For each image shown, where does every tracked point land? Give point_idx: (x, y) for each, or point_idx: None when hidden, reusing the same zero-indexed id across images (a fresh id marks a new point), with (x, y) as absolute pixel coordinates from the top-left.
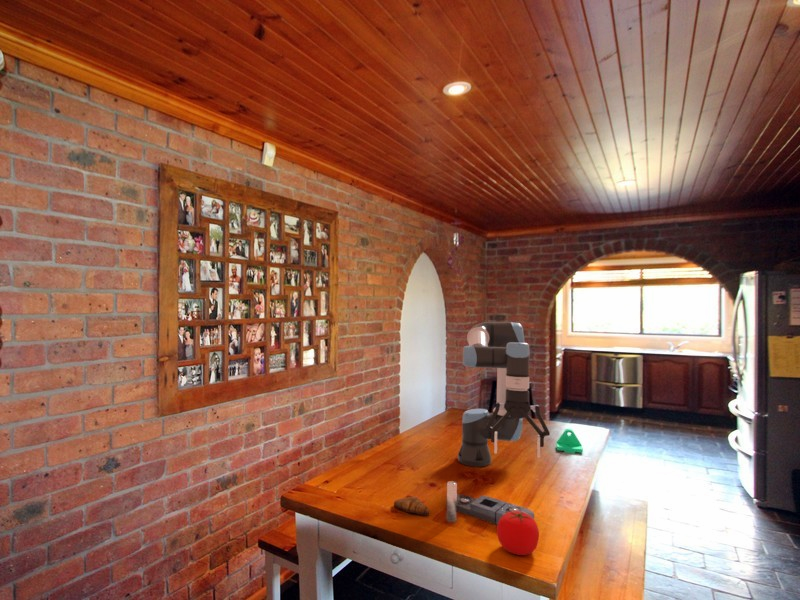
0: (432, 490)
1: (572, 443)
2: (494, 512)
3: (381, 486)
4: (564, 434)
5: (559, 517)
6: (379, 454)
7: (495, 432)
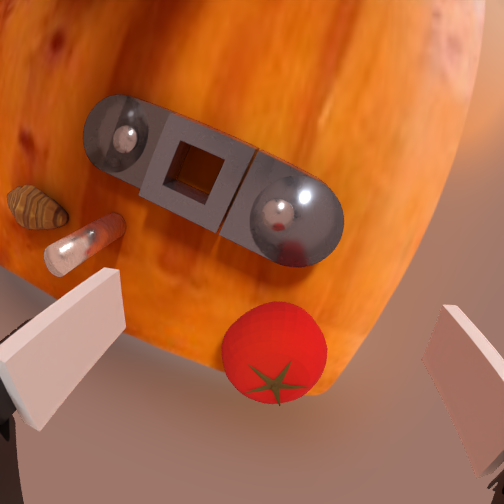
0: (57, 74)
1: None
2: (214, 231)
3: None
4: None
5: (419, 142)
6: None
7: (13, 398)
